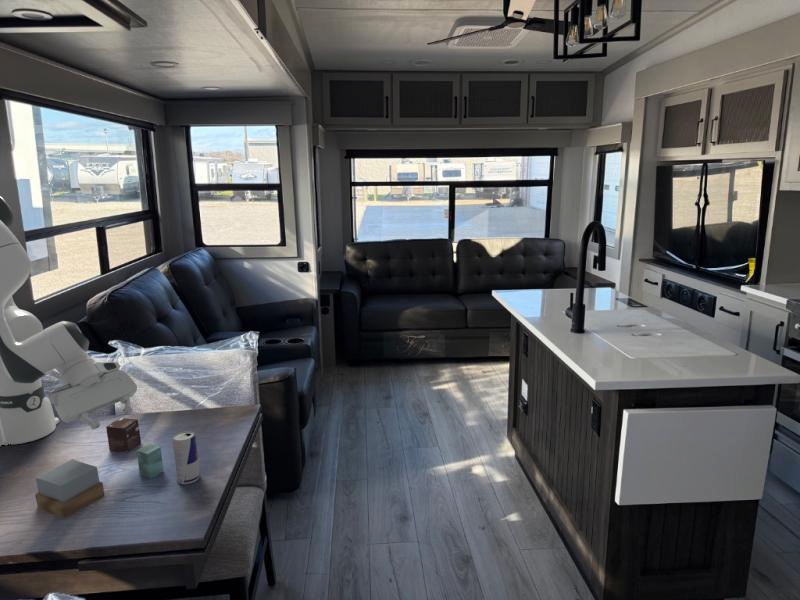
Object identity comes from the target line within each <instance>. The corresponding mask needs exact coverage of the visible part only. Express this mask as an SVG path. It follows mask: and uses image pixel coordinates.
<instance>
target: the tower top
mask: <svg viewBox="0 0 800 600" xmlns="http://www.w3.org/2000/svg"><path fill="white" fill-rule="evenodd" d="M98 471H99V470H98V467H97V466H95V465H92V464H88V463H85V462H82V461H79V460H76V459H69V460H68V461H66V462H64V463H61V464H60V465H58V466H56V467H54V468H52V469H50V470H48V471H46V472H44V473H42V474H40V475H38V476H36V477H35V482H36V488H37V493H40V494H43V495H46V496H48V497H51V498H54V499H57V500H59V501H62V502H65V501H67V500H68V499H70V498H72V497H74V496H75V495H77V494H79V493H81V492H83V491H84V490H86V489H88V488H90V487H91V486H93V485H95V484H97V483H99V481H100V478H99V472H98Z"/></svg>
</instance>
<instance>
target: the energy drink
mask: <svg viewBox="0 0 800 600" xmlns="http://www.w3.org/2000/svg"><path fill="white" fill-rule="evenodd" d="M172 446H173V448H172V449H173V454H174V455H173V456H174V462H175V463H174V465H175V472H176V478H177V482H178V483H179V484H180V485H191V484H194V483H195V482H197V481H199V478H200V477H201V474H200V466H199V465H200V464H199V456H198V455H199V454H198V448H197V436H196V435H195V432H193V431H190V430H185V431H180V432H177V433H176V434H174V435H173V437H172Z"/></svg>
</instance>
